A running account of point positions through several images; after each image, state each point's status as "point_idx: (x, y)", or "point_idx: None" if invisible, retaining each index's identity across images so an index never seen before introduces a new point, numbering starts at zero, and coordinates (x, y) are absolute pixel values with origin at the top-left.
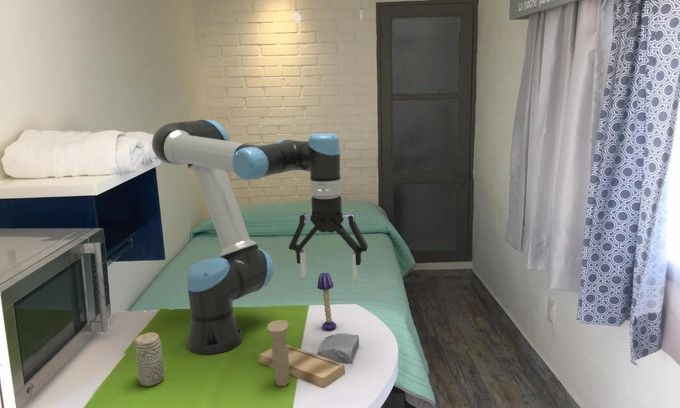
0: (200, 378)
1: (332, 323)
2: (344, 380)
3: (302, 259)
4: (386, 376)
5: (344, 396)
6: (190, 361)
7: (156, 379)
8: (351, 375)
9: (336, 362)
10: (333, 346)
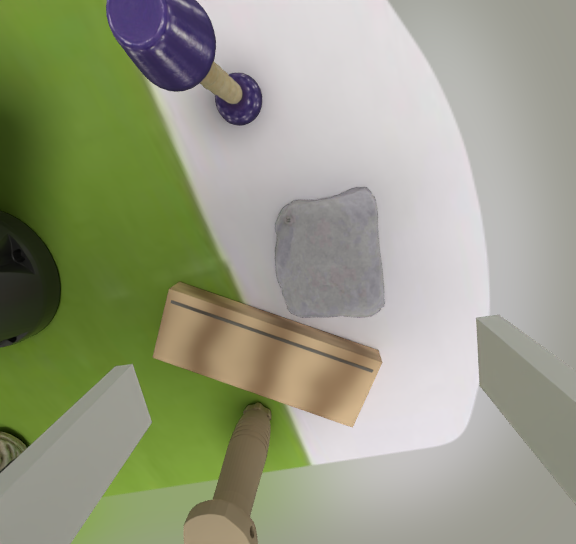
0: None
1: (248, 98)
2: (386, 376)
3: (67, 539)
4: None
5: (404, 432)
6: (17, 369)
7: None
8: (396, 354)
9: (359, 357)
10: (328, 300)
